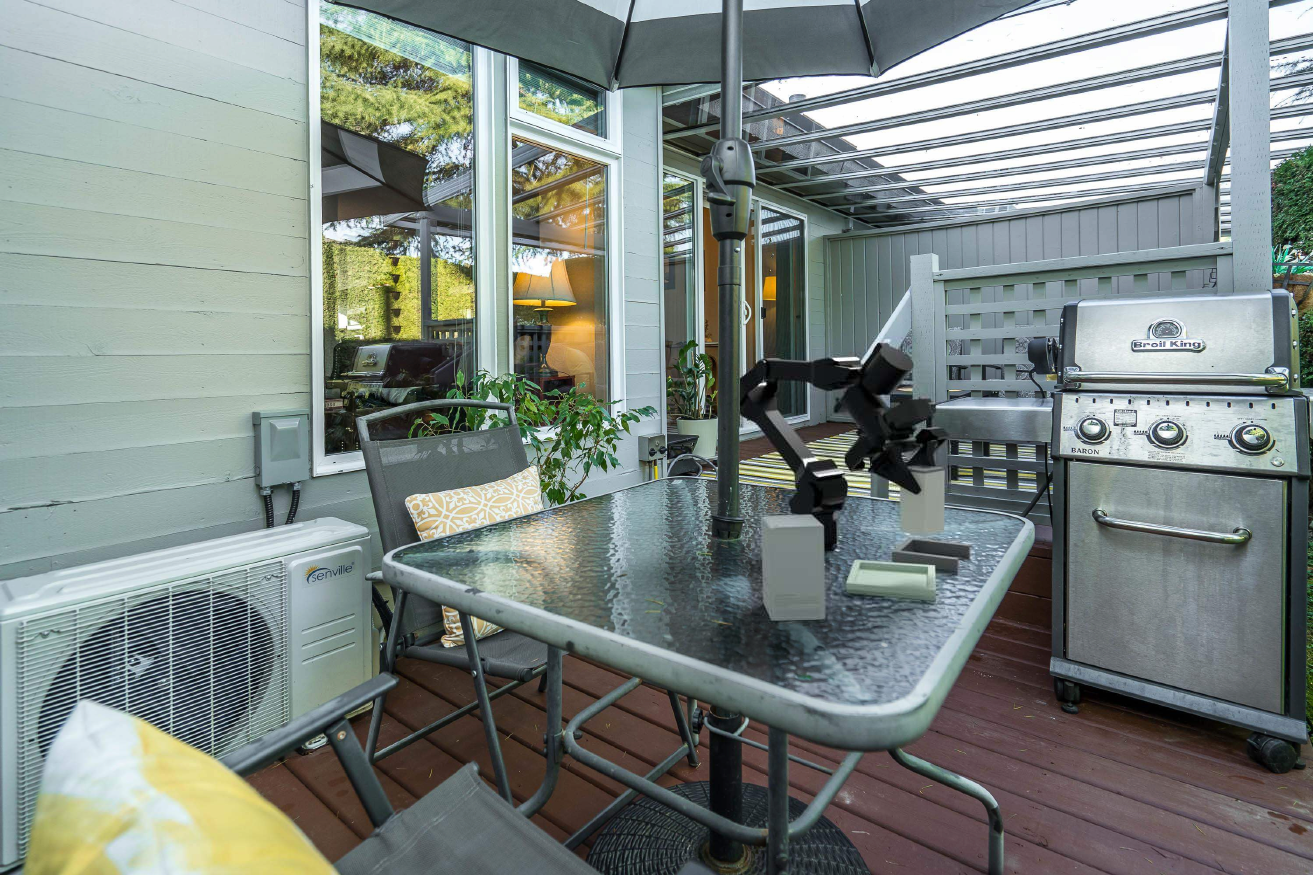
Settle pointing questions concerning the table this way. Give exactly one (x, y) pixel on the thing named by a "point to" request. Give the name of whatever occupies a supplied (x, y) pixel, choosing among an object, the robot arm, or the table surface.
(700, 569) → the table surface
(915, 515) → the tall cream pillar
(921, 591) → the tray
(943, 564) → the cradle
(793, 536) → the supplement box
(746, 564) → the table surface
